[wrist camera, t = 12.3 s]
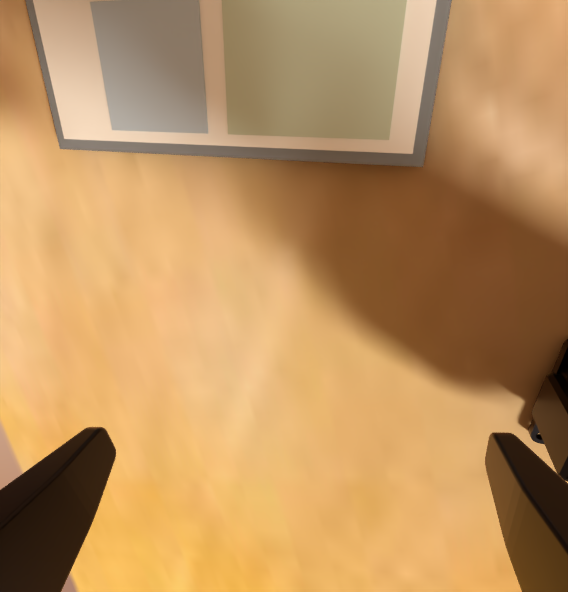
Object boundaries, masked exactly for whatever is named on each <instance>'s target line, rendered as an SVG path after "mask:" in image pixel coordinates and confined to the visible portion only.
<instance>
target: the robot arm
mask: <svg viewBox="0 0 568 592" xmlns="http://www.w3.org/2000/svg"><path fill="white" fill-rule="evenodd" d="M532 416H533V420H532V422H531V425H530V427H529V434H530V436H531V438H532V440H533V441H535V442H537V443H541V444H545V446H546V448H547V451H548V453H549V455H550V458H551V460H552V462H553V465H554V467H555V469H556V471H557V473H556V472H555V471H553V470H552V469H551V468H550V467H549V466H548V465H547V464H546V463H545V462H544V461H543V460H541V459H540V458H539V457H538V456H537V455H536V454H535V453H534V452H533V451H532V450H531V449H530V448H528V447H527V446H526V445H525V444H524V443H523V442H522V441H521V440H520V439H519V438H518V437H516V436H515V435H514V434H512V433H492V434H491V435H490V436H489V441H488V446H487V451H486V457H485V465H486V471H487V475H488V479H489V483H490V487H491V491H492V494H493V498H494V502H495V506H496V510H497V514H498V518H499V522H500V526H501V530H502V534H503V538H504V541H505V545H506V548H507V551H508V554H509V557H510V560H511V563H512V565H513V568H514V571H515V574H516V576H517V579H518V582H519V584H520V587H521V590H522V592H568V483H567V482H565V481H568V339H567V340H566V341H565V343H564V344H563V347H562V349H561V352H560V354H559V357H558V359H557V361H556V364H555V366H554V369H553V371H552V373H550V374H549V375H548V376H546V378H545V380H544V383H543V385H542V388H541V390H540V393H539V395H538V398H537V400H536V403H535V405H534V407H533V410H532ZM538 433H540V434H538ZM115 457H116V449H115V447H114V445H113V443H112V441H111V439H110V437H109V435H108V433H107V431H106V429H104V428H103V427H88V428H86V429H84V430H83V431H81V432H80V433H78V434H77V435H76V436H74V437H73V438H72V439H70V440H69V441H67V442H66V443H65V444H63V445H62V446H60V447H59V448H58V449H56V450H55V451H54V452H52V453H51V454H49V455H48V456H47V457H45V458H44V459H42V460H41V461H40V462H38V463H37V464H36V465H34V466H33V467H31V468H30V469H29V470H27V471H26V472H25V473H23V474H22V475H20V476H19V477H18V478H16V479H15V480H13V481H12V482H11V483H9V484H8V485H7V486H5V487H4V488H2V489H1V490H0V592H61V591H62V588H63V586H64V584H65V582H66V580H67V577H68V575H69V573H70V571H71V569H72V566H73V564H74V562H75V560H76V558H77V555H78V553H79V551H80V549H81V547H82V544H83V542H84V540H85V538H86V536H87V533H88V531H89V529H90V527H91V524H92V522H93V519H94V517H95V514H96V512H97V509H98V506H99V503H100V500H101V498H102V495H103V492H104V489H105V486H106V483H107V480H108V478H109V475H110V472H111V469H112V466H113V463H114V461H115Z"/></svg>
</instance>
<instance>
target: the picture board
mask: <svg viewBox="0 0 568 592" xmlns="http://www.w3.org/2000/svg"><path fill="white" fill-rule="evenodd" d="M25 1H26V5H27V10H28V14H29V18H30V23H31V27H32V31H33V35H34V40H35V44H36V48H37V52H38V57H39V61H40V65H41V70H42V74H43V78H44V82H45V87H46V91H47V95H48V99H49V104H50V108H51V112H52V117H53V121H54V125H55V129H56V134H57V138H58V142H59V146H60V149H72V150H92V151H112V152H132V153H152V154H172V155H192V156H212V157H232V158H252V159H272V160H292V161H312V162H332V163H352V164H372V165H392V166H412V167H423V165H424V159H425V153H426V147H427V142H428V136H429V130H430V124H431V118H432V112H433V106H434V100H435V95H436V89H437V83H438V77H439V71H440V65H441V59H442V54H443V48H444V42H445V36H446V30H447V24H448V18H449V13H450V7H451V1H452V0H25Z"/></svg>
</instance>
